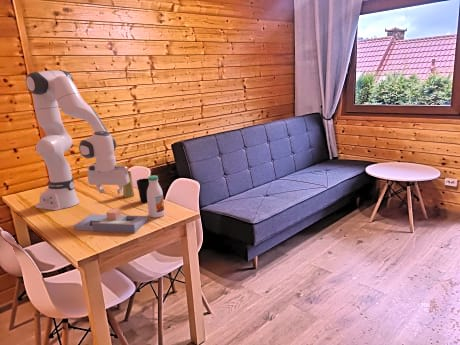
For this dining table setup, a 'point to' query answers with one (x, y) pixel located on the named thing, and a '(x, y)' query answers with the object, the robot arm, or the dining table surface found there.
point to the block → (113, 214)
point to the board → (111, 223)
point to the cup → (143, 189)
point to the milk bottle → (155, 198)
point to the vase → (128, 188)
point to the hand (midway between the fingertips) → (110, 193)
